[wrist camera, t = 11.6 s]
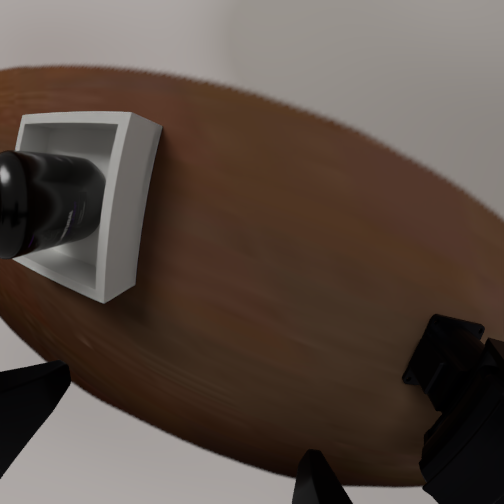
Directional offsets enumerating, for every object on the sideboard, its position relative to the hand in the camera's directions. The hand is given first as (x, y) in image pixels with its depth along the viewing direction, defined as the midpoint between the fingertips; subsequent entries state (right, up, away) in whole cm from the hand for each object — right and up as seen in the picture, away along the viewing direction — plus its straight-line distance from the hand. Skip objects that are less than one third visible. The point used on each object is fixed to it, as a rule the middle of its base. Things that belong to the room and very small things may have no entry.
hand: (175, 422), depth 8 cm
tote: (-12, +11, +13) cm, 20 cm away
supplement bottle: (-12, +10, +12) cm, 20 cm away
